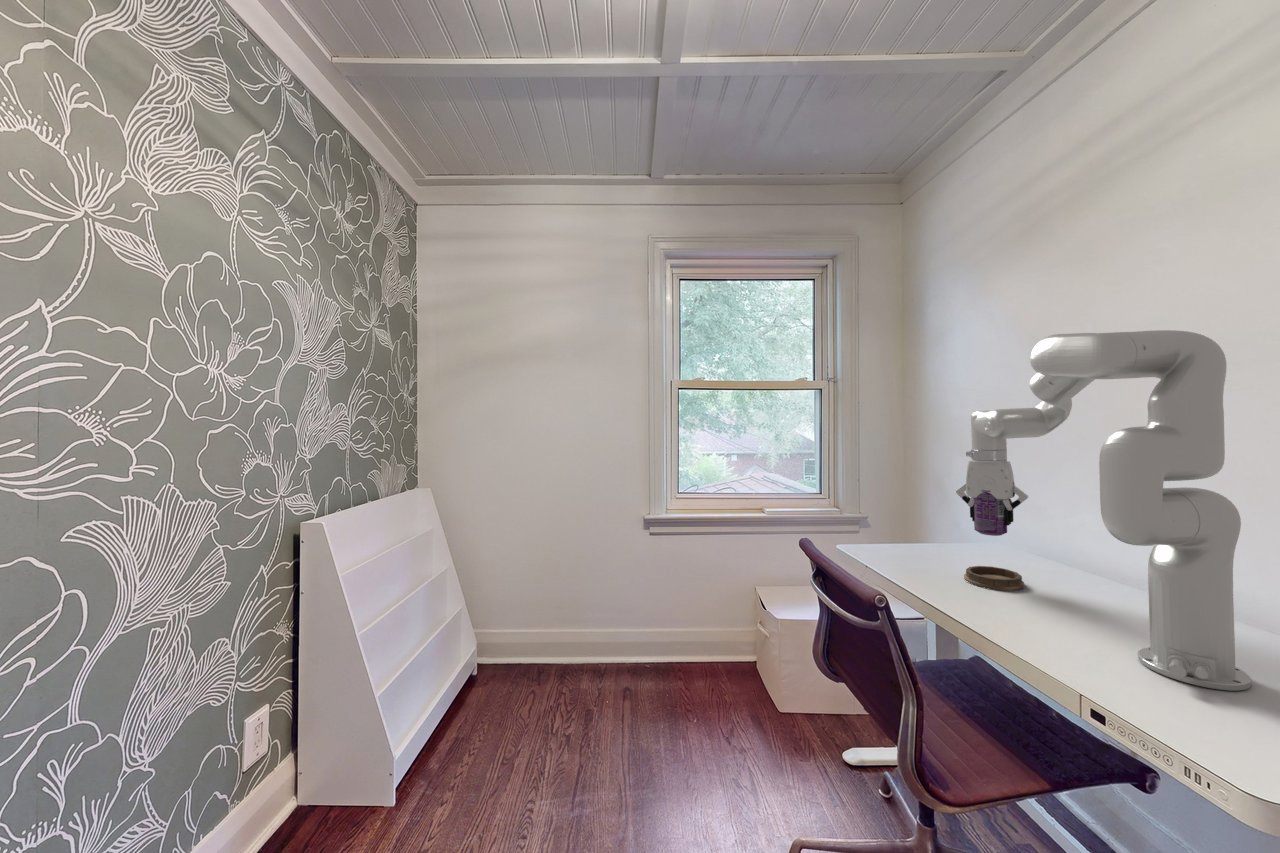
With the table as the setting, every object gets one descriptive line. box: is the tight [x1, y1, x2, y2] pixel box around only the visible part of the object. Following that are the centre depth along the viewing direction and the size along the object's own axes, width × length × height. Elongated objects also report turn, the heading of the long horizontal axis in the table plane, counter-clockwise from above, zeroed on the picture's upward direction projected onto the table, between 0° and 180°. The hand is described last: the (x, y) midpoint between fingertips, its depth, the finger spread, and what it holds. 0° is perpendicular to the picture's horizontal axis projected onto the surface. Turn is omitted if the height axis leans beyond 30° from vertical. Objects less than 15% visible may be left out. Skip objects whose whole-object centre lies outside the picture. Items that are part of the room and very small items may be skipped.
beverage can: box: [973, 490, 1008, 537], centre depth 126 cm, size 7×7×12 cm
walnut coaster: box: [963, 565, 1025, 592], centre depth 126 cm, size 13×13×3 cm
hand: (991, 522), depth 126 cm, fingers closed on beverage can, 6 cm apart
